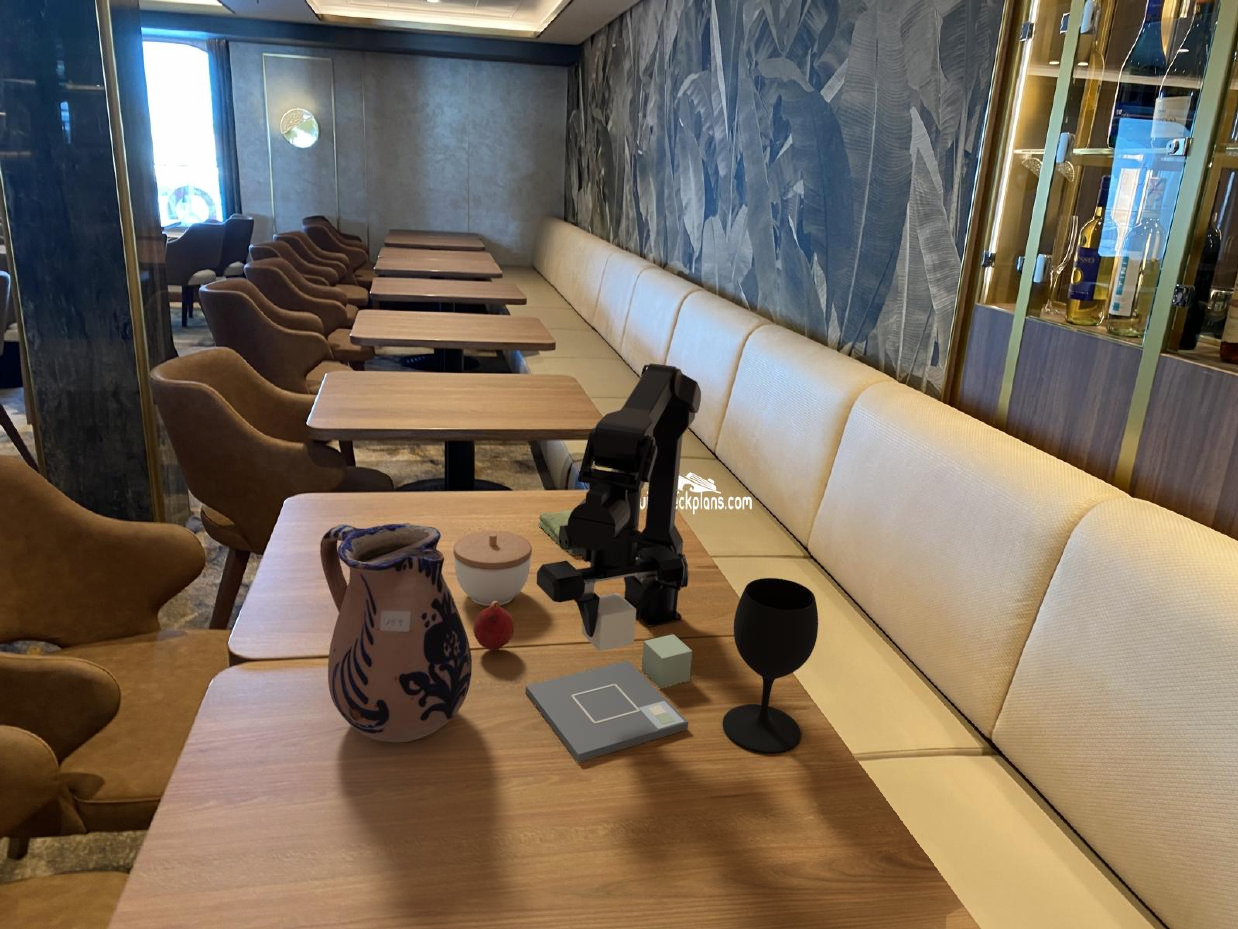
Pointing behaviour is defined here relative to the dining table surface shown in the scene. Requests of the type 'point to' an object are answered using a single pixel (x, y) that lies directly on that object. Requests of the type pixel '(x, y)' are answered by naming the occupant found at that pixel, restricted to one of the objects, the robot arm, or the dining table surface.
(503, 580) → the lidded bowl
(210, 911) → the dining table surface
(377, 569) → the ceramic pitcher
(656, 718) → the slate board
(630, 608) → the cream block
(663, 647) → the sage block
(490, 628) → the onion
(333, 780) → the dining table surface
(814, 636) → the wine glass
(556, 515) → the washcloth
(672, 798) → the dining table surface
